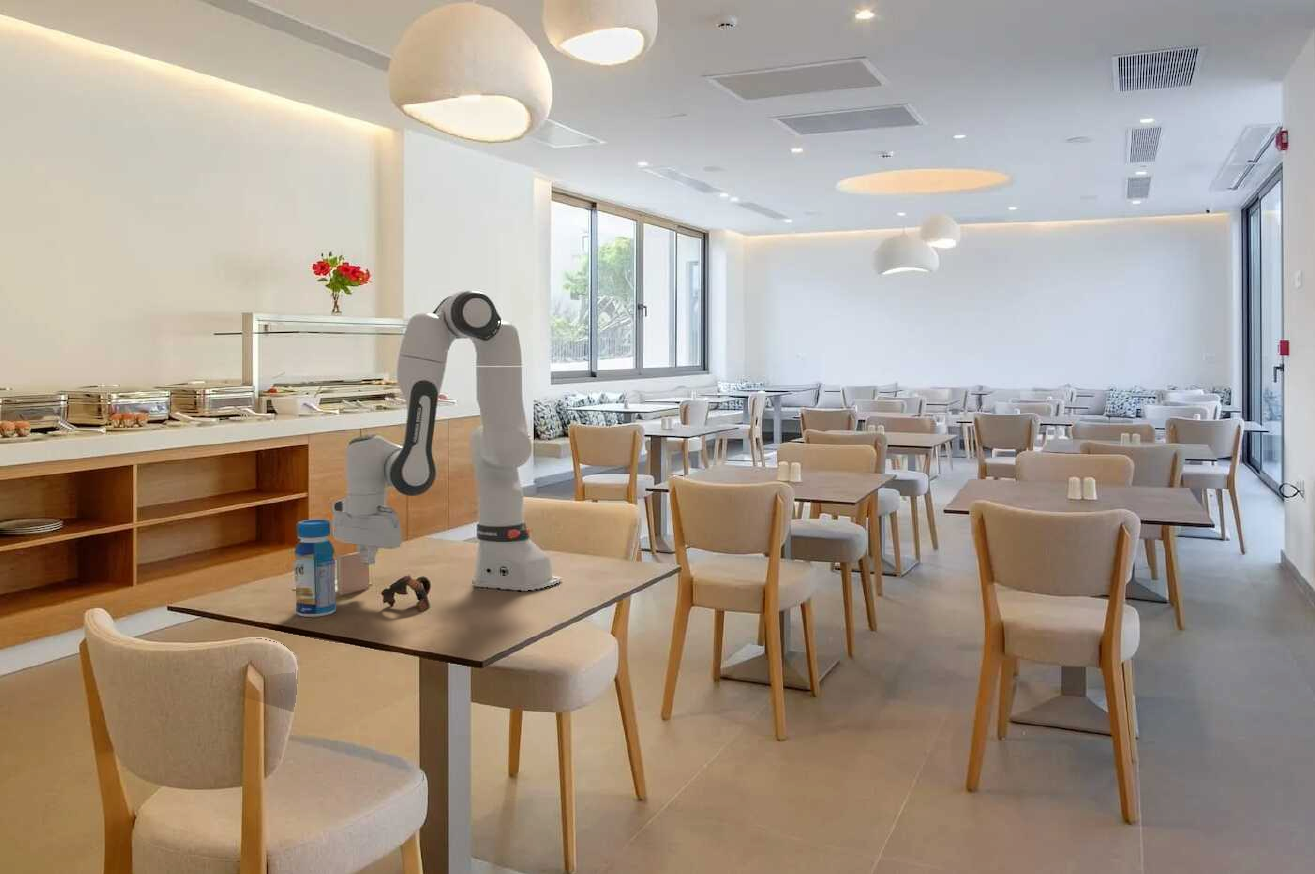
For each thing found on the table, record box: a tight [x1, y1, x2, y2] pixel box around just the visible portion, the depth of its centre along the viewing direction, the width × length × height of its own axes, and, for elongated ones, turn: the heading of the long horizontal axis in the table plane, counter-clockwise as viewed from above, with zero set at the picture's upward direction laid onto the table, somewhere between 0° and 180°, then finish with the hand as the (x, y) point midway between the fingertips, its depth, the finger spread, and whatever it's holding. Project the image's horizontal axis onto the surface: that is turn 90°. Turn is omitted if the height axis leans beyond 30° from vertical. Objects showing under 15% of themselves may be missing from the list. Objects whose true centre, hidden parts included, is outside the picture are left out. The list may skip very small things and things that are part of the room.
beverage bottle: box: [293, 519, 337, 618], centre depth 213 cm, size 8×8×20 cm
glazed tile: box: [336, 550, 370, 596], centre depth 234 cm, size 2×8×9 cm, turn 146°
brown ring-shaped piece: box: [380, 574, 432, 612], centre depth 219 cm, size 12×9×8 cm
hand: (367, 563), depth 231 cm, fingers closed
